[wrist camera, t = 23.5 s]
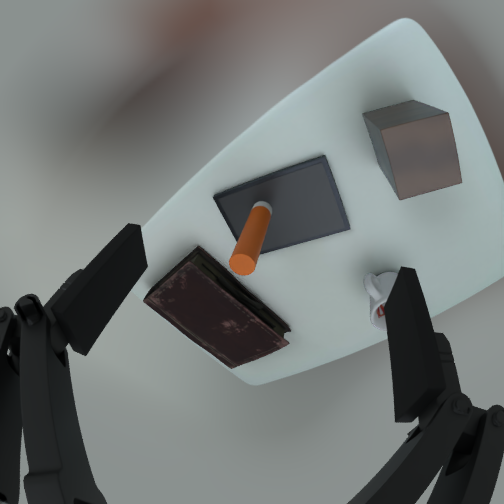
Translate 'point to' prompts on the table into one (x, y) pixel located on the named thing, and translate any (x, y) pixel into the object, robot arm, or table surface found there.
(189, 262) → the diary
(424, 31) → the table surface
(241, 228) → the tablet
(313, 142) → the table surface
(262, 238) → the orange cylinder
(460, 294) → the table surface
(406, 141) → the tall brown-topped block
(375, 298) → the cup
